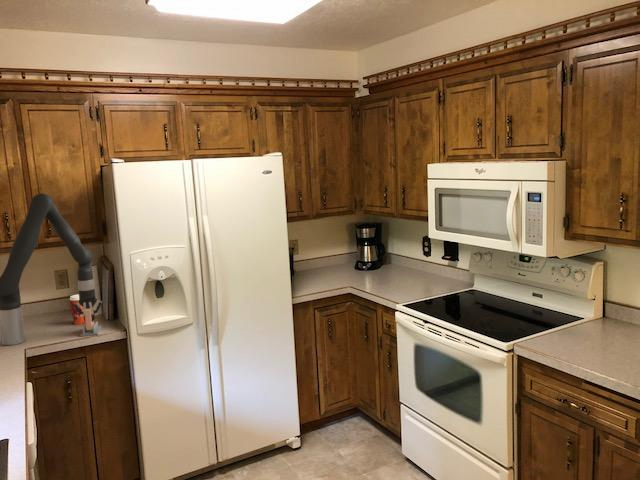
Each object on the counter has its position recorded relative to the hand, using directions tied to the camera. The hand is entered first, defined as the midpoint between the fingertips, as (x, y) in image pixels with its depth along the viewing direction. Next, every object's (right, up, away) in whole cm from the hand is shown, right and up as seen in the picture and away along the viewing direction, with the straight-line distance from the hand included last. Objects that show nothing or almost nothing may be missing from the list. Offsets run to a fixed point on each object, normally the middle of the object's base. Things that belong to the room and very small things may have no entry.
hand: (89, 321), depth 269 cm
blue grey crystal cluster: (0, -6, +1) cm, 6 cm away
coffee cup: (-12, -4, +17) cm, 21 cm away
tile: (0, -3, 0) cm, 3 cm away
